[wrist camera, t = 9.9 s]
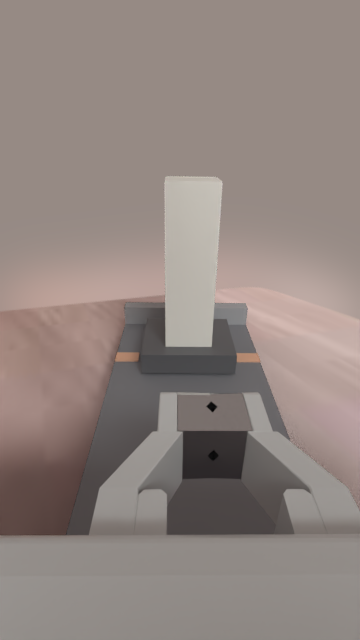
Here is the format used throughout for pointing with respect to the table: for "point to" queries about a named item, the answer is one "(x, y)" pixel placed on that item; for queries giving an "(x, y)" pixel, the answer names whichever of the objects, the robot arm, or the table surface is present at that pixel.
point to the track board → (142, 419)
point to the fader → (190, 285)
